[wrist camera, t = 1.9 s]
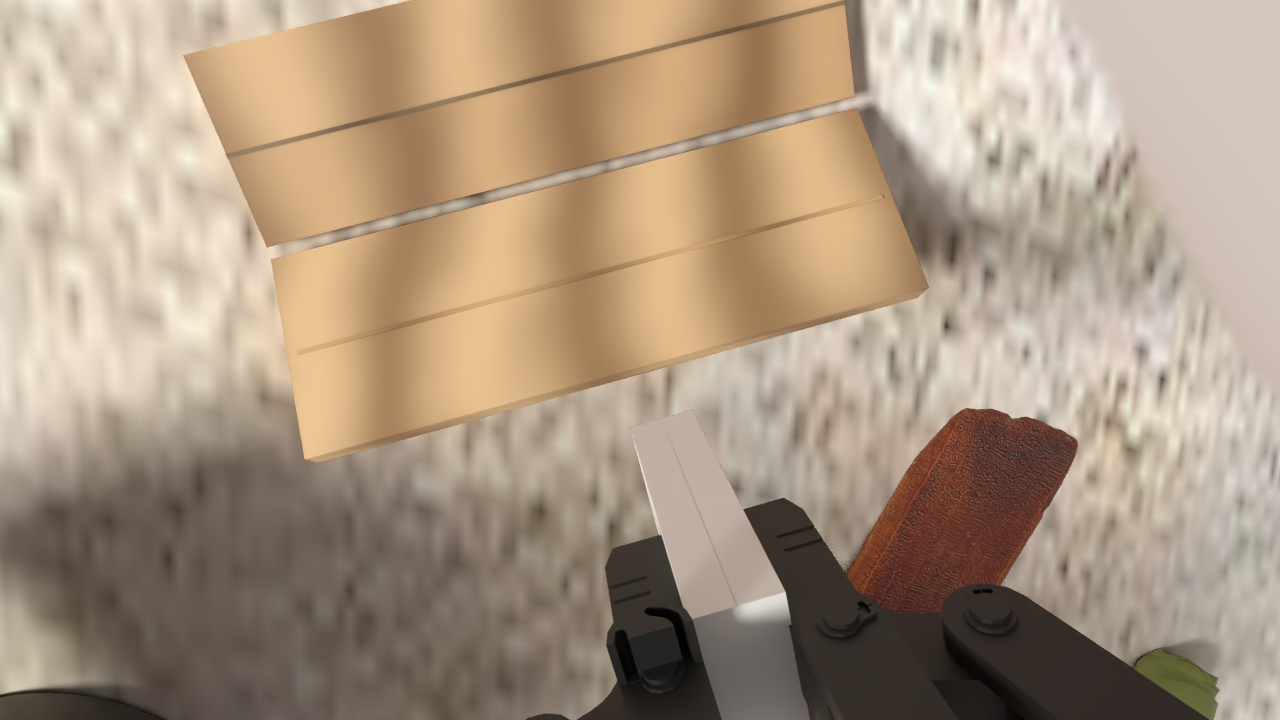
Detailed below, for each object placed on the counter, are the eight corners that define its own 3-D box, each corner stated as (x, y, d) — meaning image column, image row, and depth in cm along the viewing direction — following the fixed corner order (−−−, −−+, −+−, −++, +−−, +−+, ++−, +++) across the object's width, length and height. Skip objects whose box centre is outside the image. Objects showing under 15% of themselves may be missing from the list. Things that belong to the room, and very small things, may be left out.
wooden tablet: (853, 789, 46) (865, 813, 44) (719, 759, 43) (726, 783, 42) (1093, 441, 39) (1117, 456, 37) (952, 379, 36) (971, 392, 35)
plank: (849, 124, 30) (857, 107, 29) (917, 297, 28) (929, 286, 27) (286, 270, 29) (270, 258, 27) (319, 462, 27) (303, 459, 26)
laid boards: (277, 241, 29) (266, 247, 27) (197, 57, 26) (182, 55, 25) (842, 96, 30) (855, 96, 29) (820, -93, 27) (833, -102, 26)
